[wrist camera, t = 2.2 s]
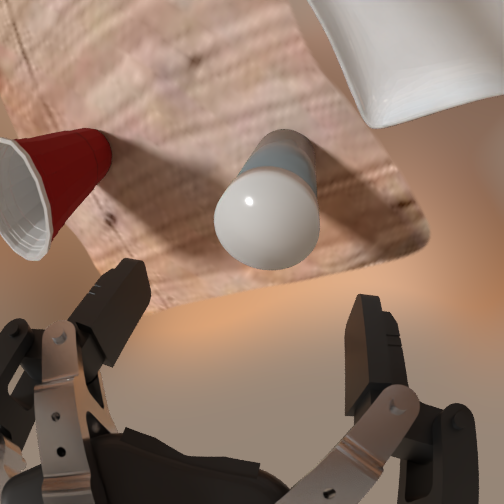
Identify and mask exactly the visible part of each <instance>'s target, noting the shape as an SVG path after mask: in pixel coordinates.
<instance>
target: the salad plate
mask: <svg viewBox="0 0 504 504" xmlns="http://www.w3.org/2000/svg"><path fill="white" fill-rule="evenodd" d="M307 1H308V3H309V4H310V6H311V8H312V10H313V11H314V13H315V15H316V16H317V18H318V20H319V22H320V24H321V25H322V27H323V29H324V31H325V33H326V35H327V37H328V39H329V41H330V43H331V46H332V48H333V50H334V52H335V54H336V57H337V59H338V61H339V64H340V66H341V69H342V71H343V74H344V76H345V79H346V81H347V84H348V86H349V89H350V91H351V93H352V96H353V98H354V100H355V103H356V105H357V107H358V110H359V112H360V114H361V116H362V118H363V120H364V121H365V123H366V124H367V125H368V126H369V127H370V128H373V129H382V128H387V127H391V126H395V125H398V124H402V123H405V122H408V121H412V120H415V119H418V118H421V117H424V116H428V115H431V114H434V113H437V112H440V111H443V110H447V109H450V108H454V107H457V106H460V105H464V104H468V103H471V102H474V101H478V100H482V99H487V98H491V97H496V96H501V95H504V0H307Z"/></svg>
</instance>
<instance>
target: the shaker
mask: <svg viewBox="0 0 504 504" xmlns="http://www.w3.org/2000/svg"><path fill="white" fill-rule="evenodd" d="M214 226H215V231H216V234H217V237H218V239H219V241H220V243H221V244H222V246H223V247H224V248H225V250H226V251H227V252H228V253H229V254H230V255H231V256H233V257H234V258H235V259H237V260H238V261H240V262H241V263H243V264H245V265H248V266H250V267H253V268H257V269H262V270H281V269H285V268H289V267H292V266H294V265H296V264H298V263H300V262H301V261H303V260H304V259H305V258H306V257H307V256H308V255H309V254H310V253H311V252H312V251H313V249H314V247H315V246H316V243H317V241H318V237H319V231H320V219H319V205H318V201H317V181H316V158H315V152H314V149H313V146H312V144H311V143H310V142H309V140H308V139H307V138H306V137H305V136H303V135H302V134H300V133H298V132H296V131H293V130H288V129H281V130H276V131H273V132H271V133H269V134H267V135H266V136H265V137H264V138H263V139H262V140H261V141H260V143H259V144H258V146H257V147H256V148H255V150H254V151H253V153H252V154H251V156H250V157H249V159H248V160H247V162H246V163H245V165H244V167H243V168H242V170H241V171H240V173H239V174H238V176H237V177H236V178H235V179H234V180H233V181H232V182H231V183H230V185H229V186H228V188H227V189H226V191H225V192H224V194H223V195H222V197H221V198H220V200H219V202H218V204H217V206H216V209H215V214H214Z"/></svg>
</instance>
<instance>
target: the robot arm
mask: <svg viewBox="0 0 504 504" xmlns="http://www.w3.org/2000/svg"><path fill="white" fill-rule="evenodd" d="M150 298H151V289H150V285H149V281H148V276H147V272H146V267H145V264H144V262H143V261H141V260H135V259H129V258H124V259H123V260H122V261H121V262H120V263H119V264H118V266H117V267H116V268H115V269H113V268H112V269H111V270H109V271H108V272H106V273H105V274H103V275H102V276H101V277H100V278H99V280H98V281H97V282H96V283H95V286H93V287H92V288H91V290H90V291H89V294H87V295H86V296H85V297H84V299H83V300H82V301H81V302H80V304H79V305H78V306H77V308H76V309H75V310H74V312H73V313H72V314H71V316H70V317H69V318H68V320H60V321H56V322H54V323H52V324H50V325H49V326H48V327H47V328H46V330H43V329H31V328H30V327H29V325H28V323H27V322H26V321H25V320H24V319H21V318H19V319H14V320H12V321H10V322H9V323H8V324H7V325H6V326H5V327H4V328H3V330H2V331H1V333H0V501H1V504H358V503H359V502H360V500H361V499H362V498H363V497H364V496H365V495H366V493H367V492H368V491H369V490H370V489H371V488H372V486H373V485H374V484H375V483H376V481H377V480H378V479H379V477H380V476H381V474H382V472H383V466H384V465H385V463H386V461H387V460H388V459H389V457H390V456H393V457H396V458H400V478H399V489H398V500H397V504H478V501H479V471H478V451H477V439H476V429H475V421H474V417H473V414H472V412H471V411H470V410H469V409H468V408H467V407H466V406H465V405H463V404H459V403H454V404H451V405H449V406H448V407H446V408H445V409H444V410H442V409H439V408H436V407H433V406H429V405H426V404H424V403H422V402H420V401H419V399H418V397H417V395H416V393H415V392H414V391H413V390H412V389H410V388H409V386H408V382H407V374H406V368H405V362H404V356H403V350H402V348H401V346H402V344H401V339H400V338H399V336H400V334H399V330H398V324H397V322H396V320H395V319H394V317H393V316H392V314H391V313H390V312H384V311H382V308H381V303H380V298H379V297H378V296H373V295H364V294H358V295H357V297H356V300H355V303H354V305H353V308H352V311H351V313H350V316H349V319H348V321H347V324H346V329H345V416H354V426H353V427H352V428H351V429H350V430H349V431H348V433H347V434H346V435H345V436H344V437H343V438H342V439H341V440H340V441H339V442H338V443H337V445H336V446H335V447H334V448H333V449H332V450H331V451H330V452H329V453H328V454H327V455H326V456H325V457H324V458H323V459H322V460H321V461H320V462H319V463H318V464H317V465H316V466H315V467H314V468H313V469H312V470H311V471H310V472H308V473H307V474H306V475H305V476H304V477H303V478H302V479H301V480H300V481H299V482H297V483H296V484H295V485H294V486H293V487H292V488H291V489H289V488H288V487H287V486H286V485H285V484H284V483H283V482H282V481H281V480H279V479H278V478H276V477H275V476H273V475H271V474H269V473H268V472H266V471H263V470H261V469H259V467H260V463H256V462H250V461H244V460H238V459H233V458H228V457H196V456H186V455H183V454H182V453H180V452H178V451H176V450H175V449H173V448H171V447H169V446H168V445H166V444H165V443H163V442H161V441H160V440H158V439H156V438H154V437H151V436H149V435H146V434H143V433H140V432H137V431H134V430H132V429H129V428H127V427H126V428H125V430H124V432H123V433H118V431H117V428H116V426H115V424H114V422H113V420H112V418H111V416H110V413H109V410H108V405H107V400H106V396H105V391H104V387H103V381H102V375H101V372H100V370H99V369H100V368H101V366H102V364H104V365H107V366H110V367H113V366H114V364H115V362H116V361H117V359H118V357H119V355H120V353H121V351H122V350H123V348H124V346H125V344H126V343H127V341H128V339H129V337H130V335H131V334H132V332H133V330H134V329H135V327H136V325H137V323H138V322H139V320H140V318H141V317H142V315H143V313H144V312H145V310H146V308H147V306H148V305H149V302H150ZM19 365H21V366H22V368H23V369H24V372H23V374H22V376H21V378H20V379H19V381H18V383H17V385H16V387H15V389H14V390H13V392H12V394H11V395H9V393H8V384H9V382H10V380H11V379H12V377H13V375H14V373H15V372H16V370H17V368H18V366H19ZM35 420H36V430H37V439H38V447H39V453H40V459H41V464H40V465H38V466H35V467H33V468H31V469H29V470H27V471H24V472H22V473H21V470H24V469H25V468H26V461H25V459H24V458H23V457H22V450H23V447H24V445H25V442H26V440H27V438H28V435H29V433H30V431H31V429H32V426H33V424H34V422H35Z"/></svg>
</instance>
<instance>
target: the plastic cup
mask: <svg viewBox="0 0 504 504" xmlns="http://www.w3.org/2000/svg"><path fill="white" fill-rule="evenodd" d="M111 160H112V152H111V149H110V145H109V142H108V141H107V139H106V138H105V136H104V135H103V134H102V133H100V132H99V131H97V130H96V129H90V128H82V129H76V130H72V131H61V132H56V133H51V134H46V135H42V136H37V137H33V138H24V139H14V140H11V139H8V138H3V137H0V234H1V236H2V238H3V239H4V240H5V241H6V242H7V244H8V245H9V246H10V247H11V248H12V249H13V250H14V251H15V252H16V253H17V254H19V255H21V256H22V257H24V258H25V259H26V260H34V261H39V260H40V259H41V258H42V257H43V256H44V255H45V254H46V253H47V252H48V251H49V249H50V246H51V242H52V241H53V238H54V237H55V236H56V235H57V233H58V231H59V230H60V229H61V227H63V225H64V224H65V222H66V220H67V219H68V218H69V217H70V216H71V214H72V213H73V212H74V211H75V210H76V209H77V207H78V206H79V205H80V204H81V203H82V202H83V201H84V199H85V198H86V197H87V196H88V195H89V194H90V193H91V192H92V191H93V189H94V187H95V186H96V185H97V184H98V183H99V182H100V181H101V179H102V178H103V177H104V176H105V175H106V173H107V172H108V170H109V168H110V165H111Z"/></svg>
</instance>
